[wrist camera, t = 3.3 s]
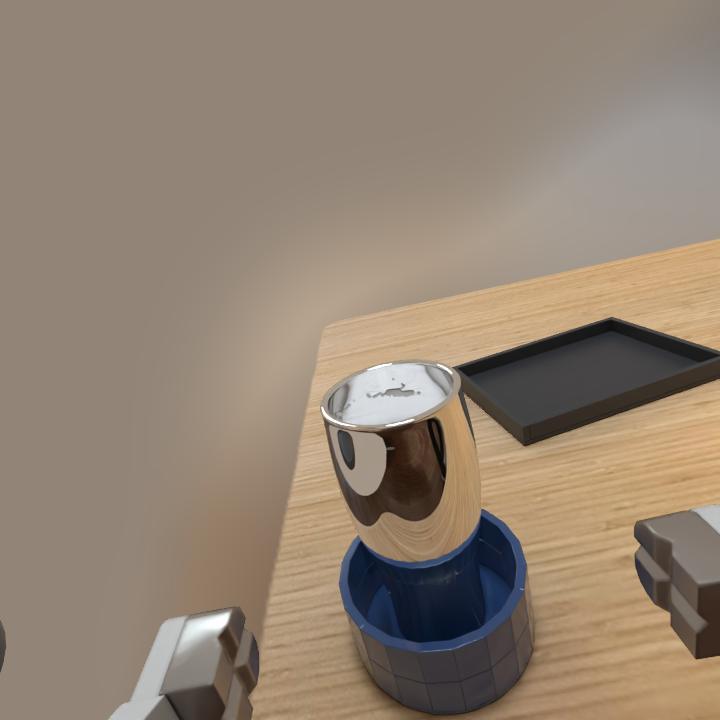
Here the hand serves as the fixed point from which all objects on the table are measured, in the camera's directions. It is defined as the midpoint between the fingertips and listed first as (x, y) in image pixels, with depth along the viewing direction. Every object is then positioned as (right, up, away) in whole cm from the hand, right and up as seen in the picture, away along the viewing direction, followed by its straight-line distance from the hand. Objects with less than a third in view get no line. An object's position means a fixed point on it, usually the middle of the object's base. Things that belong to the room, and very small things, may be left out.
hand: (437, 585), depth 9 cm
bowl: (+3, -11, +17) cm, 21 cm away
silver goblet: (+3, -10, +17) cm, 21 cm away
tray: (+21, +3, +39) cm, 44 cm away
